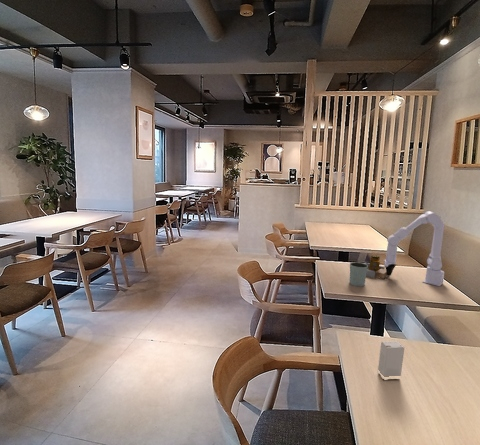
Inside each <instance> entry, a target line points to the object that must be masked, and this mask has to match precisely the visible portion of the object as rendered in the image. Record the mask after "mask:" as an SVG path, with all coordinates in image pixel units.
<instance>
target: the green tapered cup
mask: <svg viewBox="0 0 480 445" xmlns="http://www.w3.org/2000/svg"><path fill="white" fill-rule="evenodd" d="M364 263H365V262H359V261H358V262H357V261H354V262H353V261H351V262H350V263H349V282H348V283H349V284H350V285H352V286H353V287H354V286H355V287H364V286H365V283H366V277H367V276H366V274H367V270H369V269H368V265H367V264H364Z"/></svg>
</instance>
